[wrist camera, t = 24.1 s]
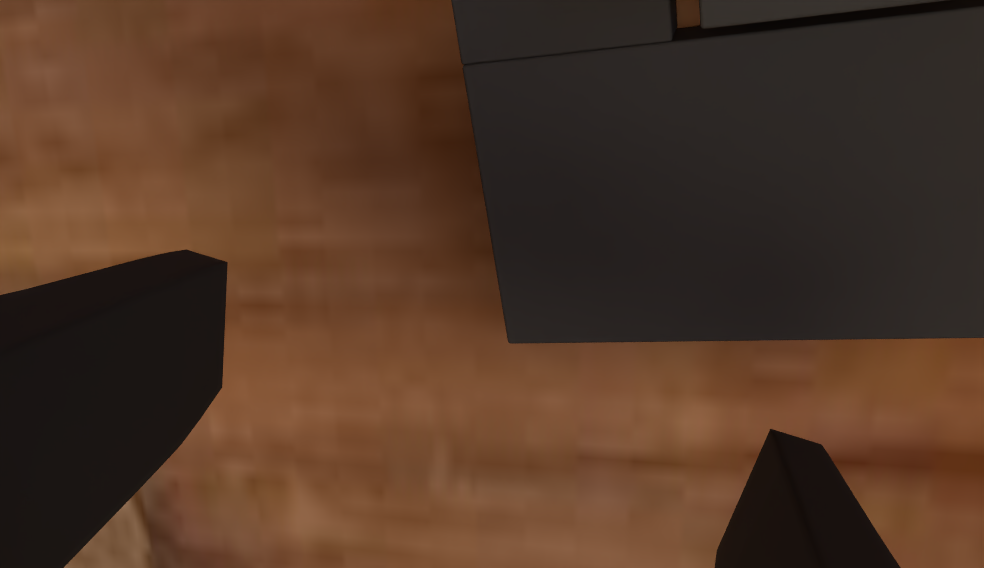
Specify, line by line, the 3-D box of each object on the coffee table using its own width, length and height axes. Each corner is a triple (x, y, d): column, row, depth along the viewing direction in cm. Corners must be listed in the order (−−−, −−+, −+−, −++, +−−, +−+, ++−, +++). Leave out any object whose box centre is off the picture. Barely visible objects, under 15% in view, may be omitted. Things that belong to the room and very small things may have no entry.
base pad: (522, 315, 21) (507, 344, 20) (435, -243, 16) (408, -252, 15) (1083, 302, 18) (1110, 337, 16) (1183, -414, 13) (1235, -446, 11)
